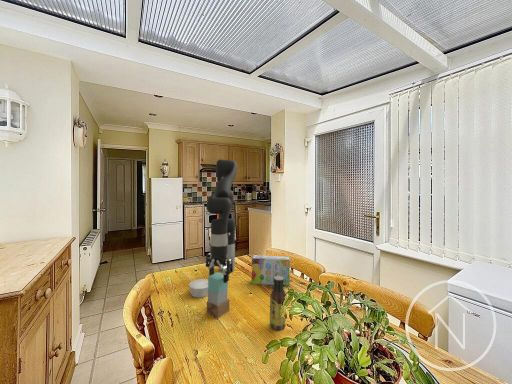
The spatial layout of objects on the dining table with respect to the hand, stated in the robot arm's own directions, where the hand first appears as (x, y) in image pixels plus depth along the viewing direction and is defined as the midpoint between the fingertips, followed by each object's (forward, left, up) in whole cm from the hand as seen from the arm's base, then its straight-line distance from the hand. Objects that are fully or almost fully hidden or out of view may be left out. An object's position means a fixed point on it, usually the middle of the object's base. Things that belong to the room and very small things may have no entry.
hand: (218, 279), depth 100 cm
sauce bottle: (+26, +7, -14) cm, 31 cm away
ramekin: (-19, +6, -15) cm, 25 cm away
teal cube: (0, 0, -4) cm, 4 cm away
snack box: (+3, +38, -15) cm, 41 cm away
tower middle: (0, 0, -9) cm, 9 cm away
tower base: (0, 0, -14) cm, 14 cm away
